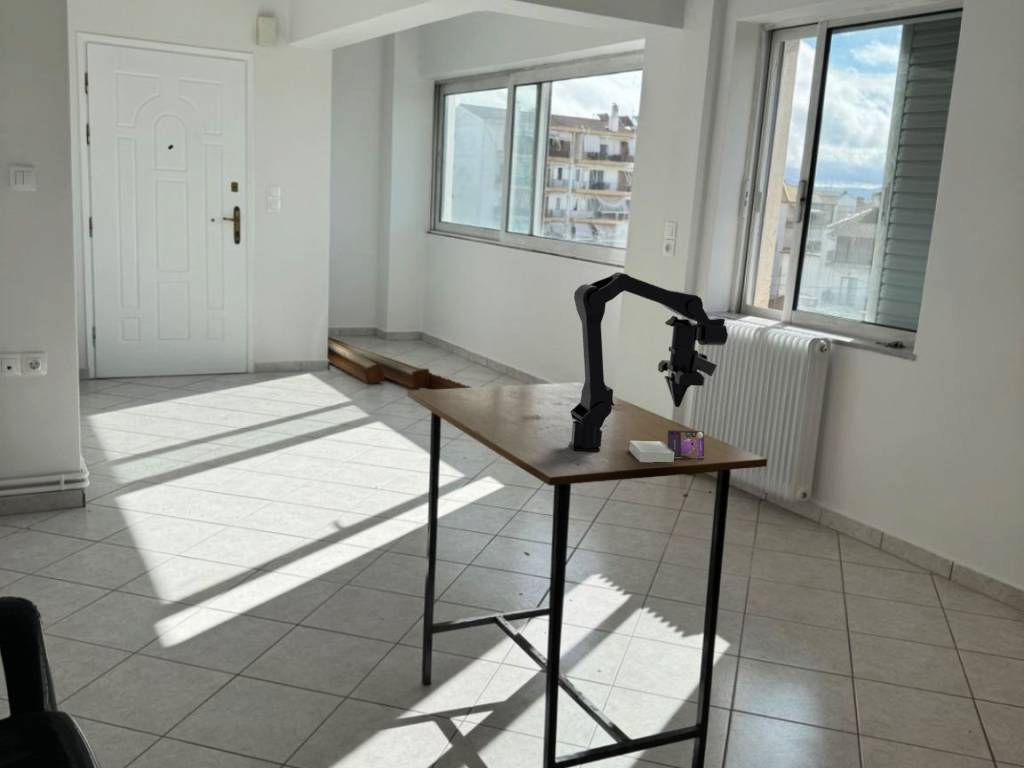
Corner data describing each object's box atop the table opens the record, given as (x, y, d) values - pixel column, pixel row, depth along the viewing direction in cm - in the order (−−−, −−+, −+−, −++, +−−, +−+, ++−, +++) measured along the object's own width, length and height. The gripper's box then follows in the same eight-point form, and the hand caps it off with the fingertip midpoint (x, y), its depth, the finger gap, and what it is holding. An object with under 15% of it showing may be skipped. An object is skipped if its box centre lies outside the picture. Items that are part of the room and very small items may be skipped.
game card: (669, 430, 226) (704, 431, 228) (661, 431, 231) (696, 432, 233) (669, 458, 225) (705, 459, 227) (662, 459, 230) (697, 460, 232)
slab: (640, 462, 221) (641, 451, 220) (629, 450, 230) (630, 440, 230) (673, 463, 222) (674, 452, 221) (661, 451, 232) (662, 441, 231)
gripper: (728, 352, 223) (721, 416, 226) (702, 340, 241) (696, 399, 244) (683, 350, 222) (676, 415, 225) (660, 338, 240) (654, 398, 243)
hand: (677, 406), depth 234 cm, fingers closed
